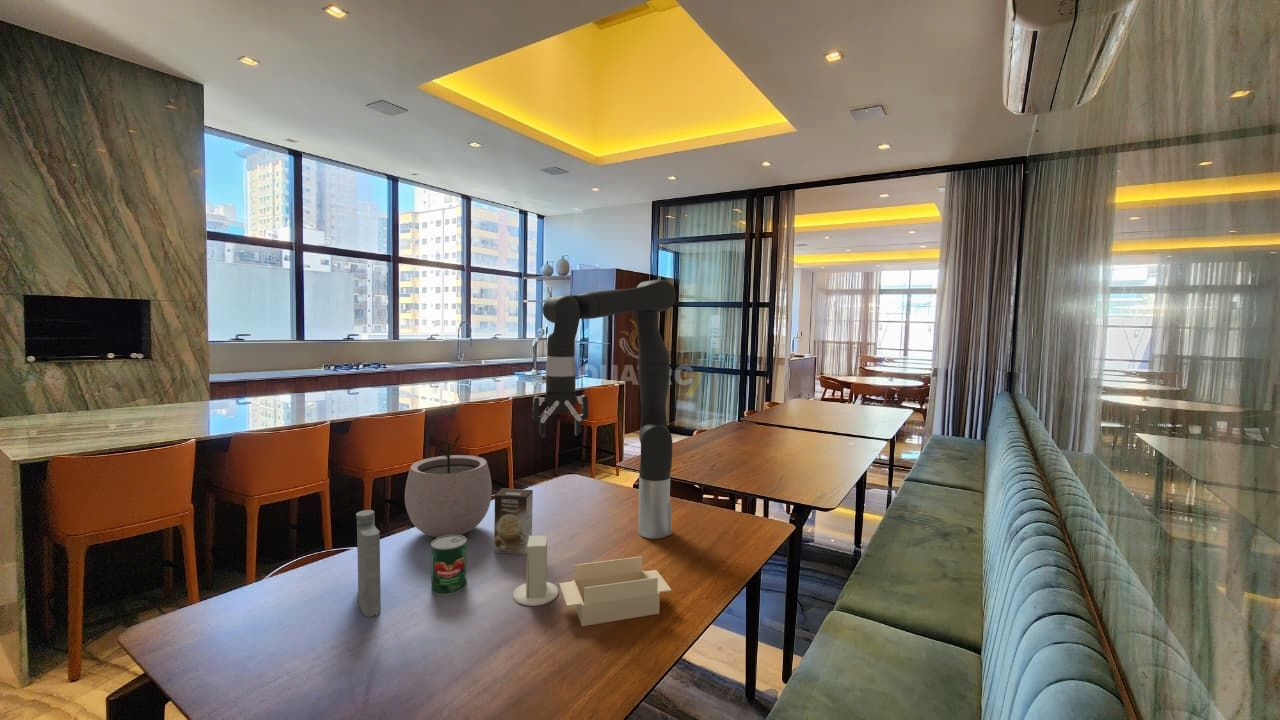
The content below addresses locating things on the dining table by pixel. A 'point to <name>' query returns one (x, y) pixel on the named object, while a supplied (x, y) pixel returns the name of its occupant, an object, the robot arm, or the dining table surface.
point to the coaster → (521, 598)
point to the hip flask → (368, 563)
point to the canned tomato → (448, 564)
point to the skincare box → (536, 566)
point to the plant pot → (448, 493)
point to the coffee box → (512, 520)
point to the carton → (613, 590)
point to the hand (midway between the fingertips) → (560, 436)
